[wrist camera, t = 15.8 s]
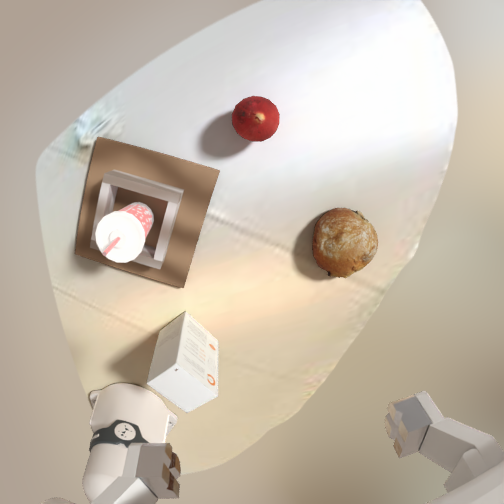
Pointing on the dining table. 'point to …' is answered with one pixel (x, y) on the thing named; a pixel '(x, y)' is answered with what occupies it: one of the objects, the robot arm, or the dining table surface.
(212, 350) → the small box
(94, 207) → the walnut board
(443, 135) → the dining table surface
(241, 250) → the dining table surface
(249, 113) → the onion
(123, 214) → the beverage cup
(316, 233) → the bread roll
